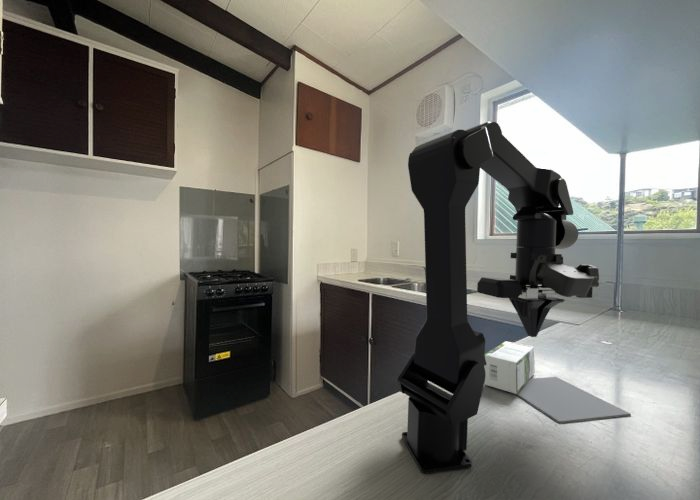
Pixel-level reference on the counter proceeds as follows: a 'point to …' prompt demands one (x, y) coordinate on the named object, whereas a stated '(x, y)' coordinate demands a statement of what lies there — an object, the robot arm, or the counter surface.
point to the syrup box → (509, 366)
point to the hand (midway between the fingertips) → (532, 336)
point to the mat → (566, 401)
